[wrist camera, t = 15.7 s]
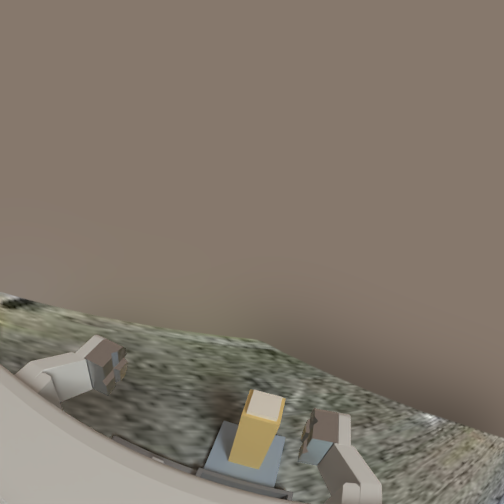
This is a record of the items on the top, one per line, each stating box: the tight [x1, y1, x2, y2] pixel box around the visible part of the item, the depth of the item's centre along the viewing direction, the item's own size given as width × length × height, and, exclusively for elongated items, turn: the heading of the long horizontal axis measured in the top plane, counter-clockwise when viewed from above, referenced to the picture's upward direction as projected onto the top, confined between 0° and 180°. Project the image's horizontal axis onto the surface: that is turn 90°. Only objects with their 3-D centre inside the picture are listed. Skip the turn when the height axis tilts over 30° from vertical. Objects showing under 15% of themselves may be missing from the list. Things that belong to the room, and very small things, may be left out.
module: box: [228, 389, 285, 469], centre depth 35 cm, size 4×4×13 cm
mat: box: [204, 421, 285, 488], centre depth 38 cm, size 10×10×1 cm
